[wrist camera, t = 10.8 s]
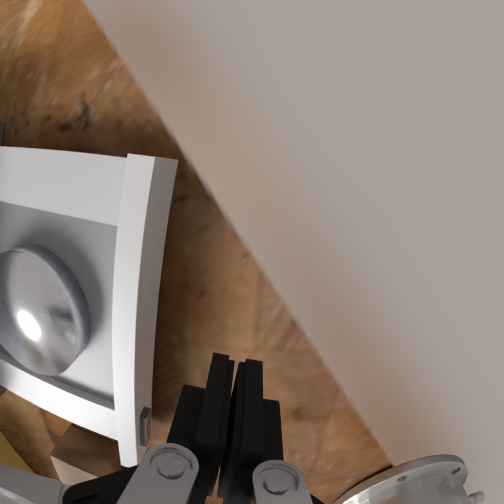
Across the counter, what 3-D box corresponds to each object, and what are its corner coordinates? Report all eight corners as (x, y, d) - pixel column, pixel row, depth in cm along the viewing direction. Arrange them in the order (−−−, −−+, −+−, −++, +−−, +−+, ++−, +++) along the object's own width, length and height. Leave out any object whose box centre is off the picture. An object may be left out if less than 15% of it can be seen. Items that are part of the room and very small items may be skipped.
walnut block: (118, 444, 18) (101, 478, 14) (122, 472, 19) (108, 503, 15) (70, 424, 18) (49, 455, 14) (78, 454, 19) (61, 483, 15)
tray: (186, 161, 12) (165, 158, 10) (156, 439, 16) (143, 472, 13) (-39, 141, 12) (-70, 142, 9) (-24, 357, 16) (-45, 374, 13)
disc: (-4, 234, 13) (-23, 241, 11) (89, 257, 13) (70, 268, 11) (9, 339, 14) (-6, 351, 13) (95, 375, 14) (82, 392, 13)
